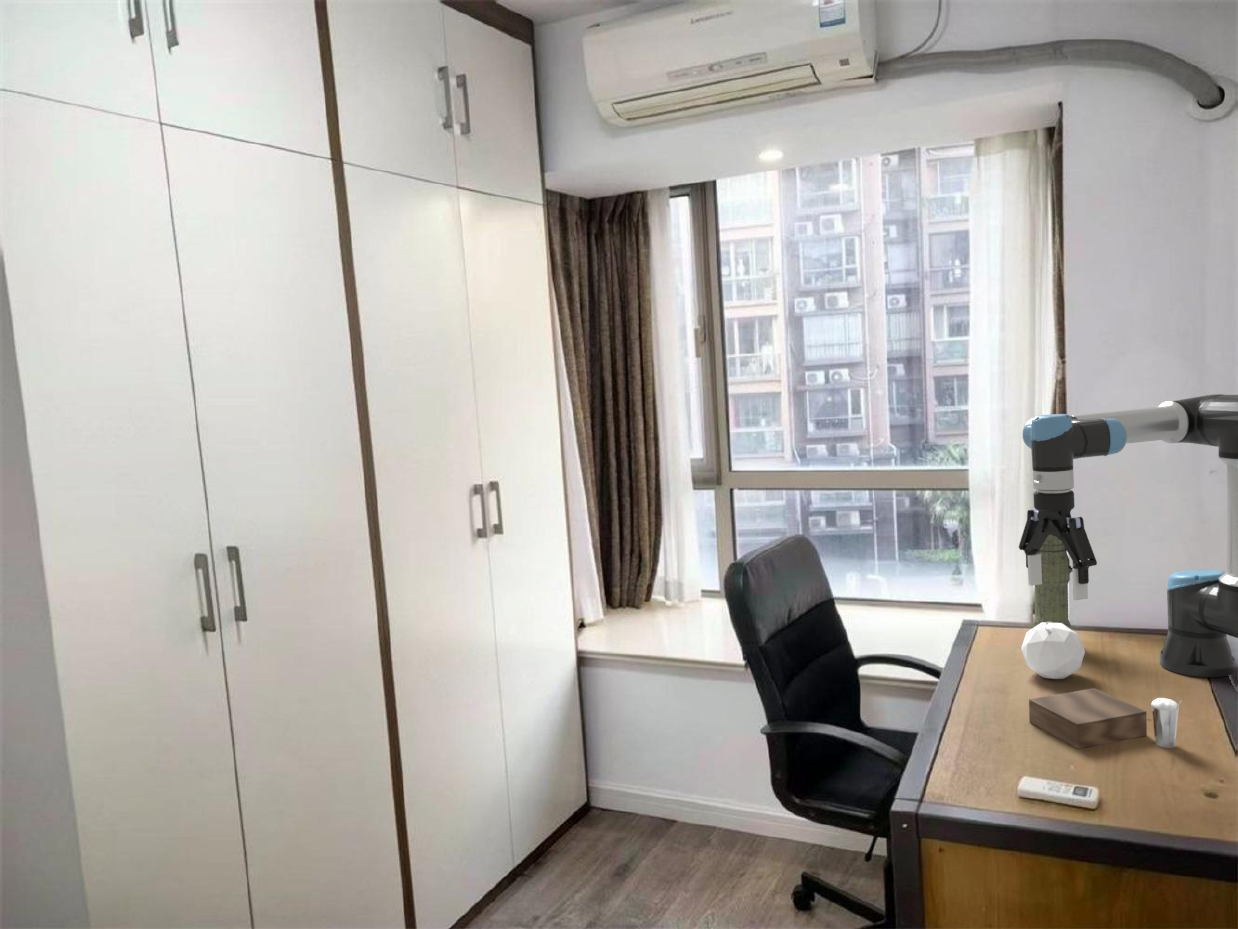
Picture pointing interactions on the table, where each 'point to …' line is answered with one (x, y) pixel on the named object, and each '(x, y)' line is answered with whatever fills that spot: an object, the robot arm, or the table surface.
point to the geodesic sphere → (1053, 650)
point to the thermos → (1053, 583)
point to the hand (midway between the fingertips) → (1057, 591)
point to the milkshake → (1165, 721)
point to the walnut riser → (1087, 718)
